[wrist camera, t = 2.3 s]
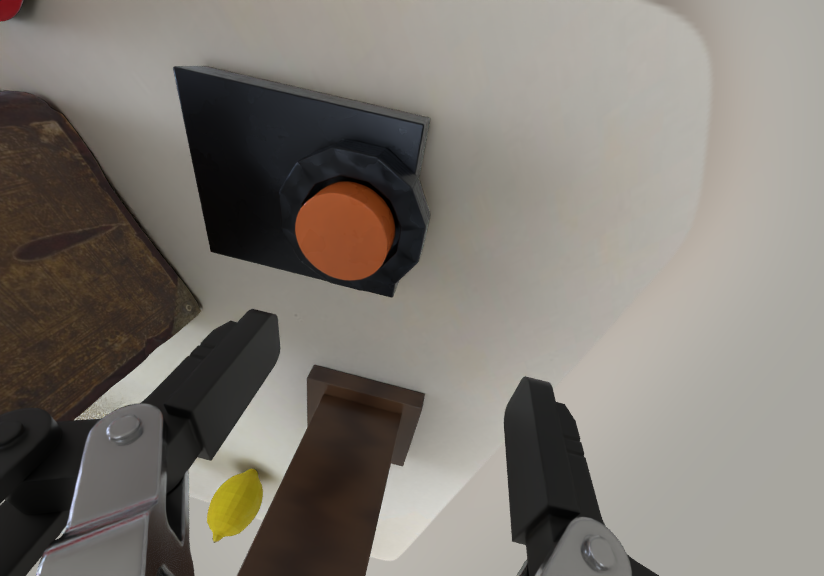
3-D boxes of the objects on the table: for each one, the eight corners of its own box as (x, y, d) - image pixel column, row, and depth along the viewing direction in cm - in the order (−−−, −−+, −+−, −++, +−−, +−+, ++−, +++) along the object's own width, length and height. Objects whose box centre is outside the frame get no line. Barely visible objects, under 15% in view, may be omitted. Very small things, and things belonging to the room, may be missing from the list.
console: (453, 122, 16) (446, 137, 13) (416, 283, 22) (405, 321, 19) (204, 65, 17) (138, 66, 14) (231, 237, 23) (189, 266, 20)
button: (402, 193, 15) (393, 206, 14) (388, 271, 18) (380, 290, 16) (310, 171, 15) (293, 182, 14) (310, 252, 18) (296, 268, 17)
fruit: (240, 477, 45) (199, 546, 39) (229, 455, 42) (182, 527, 35) (278, 485, 44) (243, 557, 38) (269, 463, 41) (230, 538, 35)
